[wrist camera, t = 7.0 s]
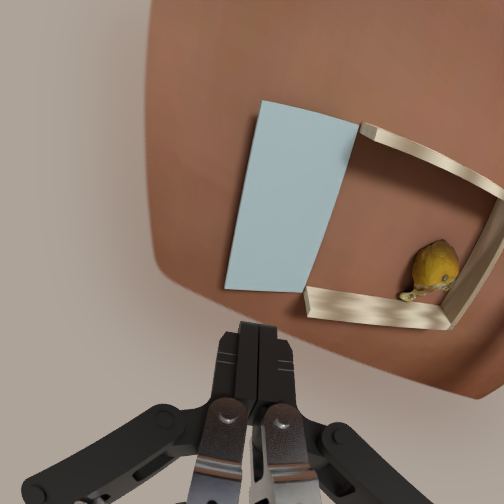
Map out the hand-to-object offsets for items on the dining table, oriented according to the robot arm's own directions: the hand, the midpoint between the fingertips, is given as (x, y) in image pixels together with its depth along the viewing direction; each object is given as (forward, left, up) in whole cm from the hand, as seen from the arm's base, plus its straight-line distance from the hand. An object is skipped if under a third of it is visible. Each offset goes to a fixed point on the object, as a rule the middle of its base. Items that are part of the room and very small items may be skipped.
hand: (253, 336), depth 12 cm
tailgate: (-7, 0, -15) cm, 16 cm away
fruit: (-21, +4, -16) cm, 26 cm away
